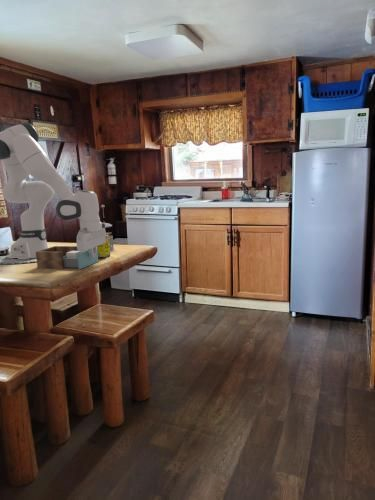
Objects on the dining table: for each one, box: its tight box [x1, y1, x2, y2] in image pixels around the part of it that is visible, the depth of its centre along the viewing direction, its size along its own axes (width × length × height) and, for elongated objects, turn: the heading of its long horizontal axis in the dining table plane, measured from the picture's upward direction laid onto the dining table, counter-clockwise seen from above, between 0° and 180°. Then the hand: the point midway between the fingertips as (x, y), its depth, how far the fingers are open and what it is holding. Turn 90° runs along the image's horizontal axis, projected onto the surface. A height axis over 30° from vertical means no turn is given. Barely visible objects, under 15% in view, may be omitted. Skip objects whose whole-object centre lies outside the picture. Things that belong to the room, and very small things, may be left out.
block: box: [66, 251, 83, 258], centre depth 177 cm, size 5×5×5 cm
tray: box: [63, 250, 99, 270], centre depth 177 cm, size 13×15×7 cm
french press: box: [100, 204, 116, 253], centre depth 207 cm, size 10×12×25 cm
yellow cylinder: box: [97, 234, 111, 259], centre depth 192 cm, size 6×6×11 cm
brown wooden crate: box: [35, 245, 78, 270], centre depth 179 cm, size 13×14×8 cm
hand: (93, 257), depth 175 cm, fingers closed
